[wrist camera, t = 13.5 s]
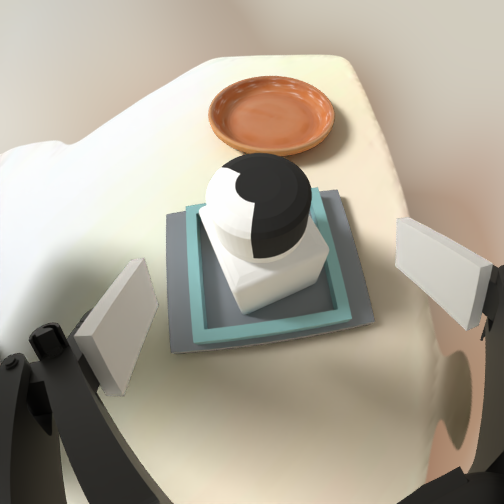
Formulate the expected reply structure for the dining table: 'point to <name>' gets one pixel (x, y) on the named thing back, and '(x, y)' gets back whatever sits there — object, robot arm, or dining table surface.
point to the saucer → (271, 115)
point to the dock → (273, 315)
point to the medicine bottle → (263, 229)
